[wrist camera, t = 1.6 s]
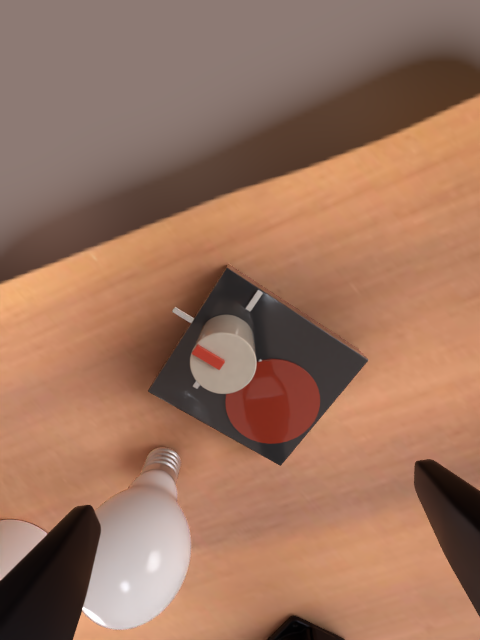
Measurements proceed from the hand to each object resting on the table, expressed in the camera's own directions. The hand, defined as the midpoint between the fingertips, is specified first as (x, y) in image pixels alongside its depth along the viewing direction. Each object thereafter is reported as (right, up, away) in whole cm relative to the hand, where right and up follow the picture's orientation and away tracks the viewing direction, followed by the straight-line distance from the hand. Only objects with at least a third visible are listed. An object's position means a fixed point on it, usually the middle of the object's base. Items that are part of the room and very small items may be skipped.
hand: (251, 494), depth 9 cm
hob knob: (-1, +3, +12) cm, 12 cm away
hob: (+1, +2, +14) cm, 15 cm away
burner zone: (+2, -1, +13) cm, 13 cm away
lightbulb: (-6, -6, +17) cm, 19 cm away
